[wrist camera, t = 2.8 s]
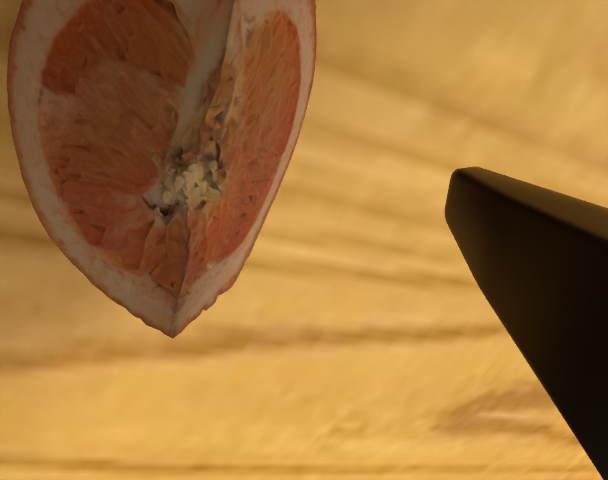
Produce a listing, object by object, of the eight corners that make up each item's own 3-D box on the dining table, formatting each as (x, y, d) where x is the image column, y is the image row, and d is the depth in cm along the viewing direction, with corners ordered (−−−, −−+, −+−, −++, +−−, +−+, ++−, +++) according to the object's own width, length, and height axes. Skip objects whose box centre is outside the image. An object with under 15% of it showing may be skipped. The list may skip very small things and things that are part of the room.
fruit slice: (254, 233, 18) (297, 345, 14) (17, 216, 15) (-13, 347, 11) (330, -55, 14) (422, -10, 10) (20, -145, 11) (-26, -133, 7)
